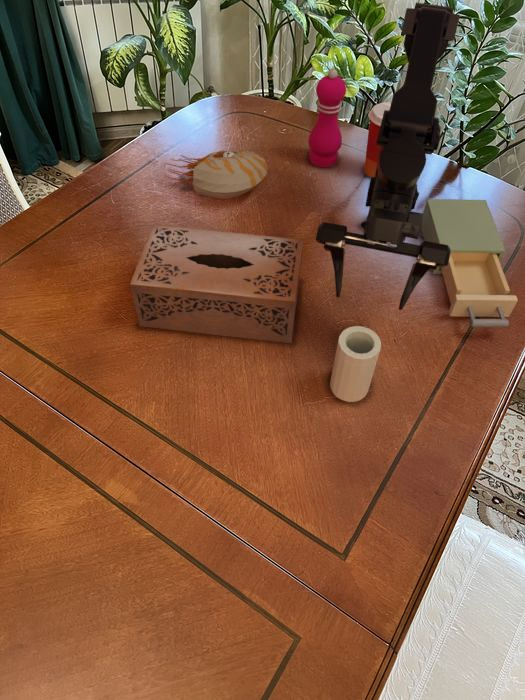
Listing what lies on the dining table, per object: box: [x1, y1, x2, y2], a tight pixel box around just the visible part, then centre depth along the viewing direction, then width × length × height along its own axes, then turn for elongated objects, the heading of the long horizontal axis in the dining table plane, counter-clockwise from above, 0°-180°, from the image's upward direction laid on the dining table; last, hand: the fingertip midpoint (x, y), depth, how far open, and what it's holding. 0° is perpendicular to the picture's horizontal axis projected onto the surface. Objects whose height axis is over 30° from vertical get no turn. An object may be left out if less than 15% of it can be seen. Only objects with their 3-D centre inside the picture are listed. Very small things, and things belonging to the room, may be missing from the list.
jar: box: [329, 325, 382, 403], centre depth 86 cm, size 6×6×11 cm
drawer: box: [441, 253, 519, 329], centre depth 99 cm, size 18×10×4 cm, turn 0°
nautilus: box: [164, 150, 269, 200], centre depth 118 cm, size 8×22×15 cm
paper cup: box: [363, 101, 391, 178], centre depth 119 cm, size 8×8×14 cm
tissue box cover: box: [129, 223, 304, 344], centre depth 96 cm, size 26×14×10 cm, turn 83°
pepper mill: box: [308, 68, 347, 168], centre depth 119 cm, size 7×7×20 cm
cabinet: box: [420, 198, 506, 275], centre depth 108 cm, size 14×11×6 cm
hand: (368, 303), depth 84 cm, fingers open, 9 cm apart
